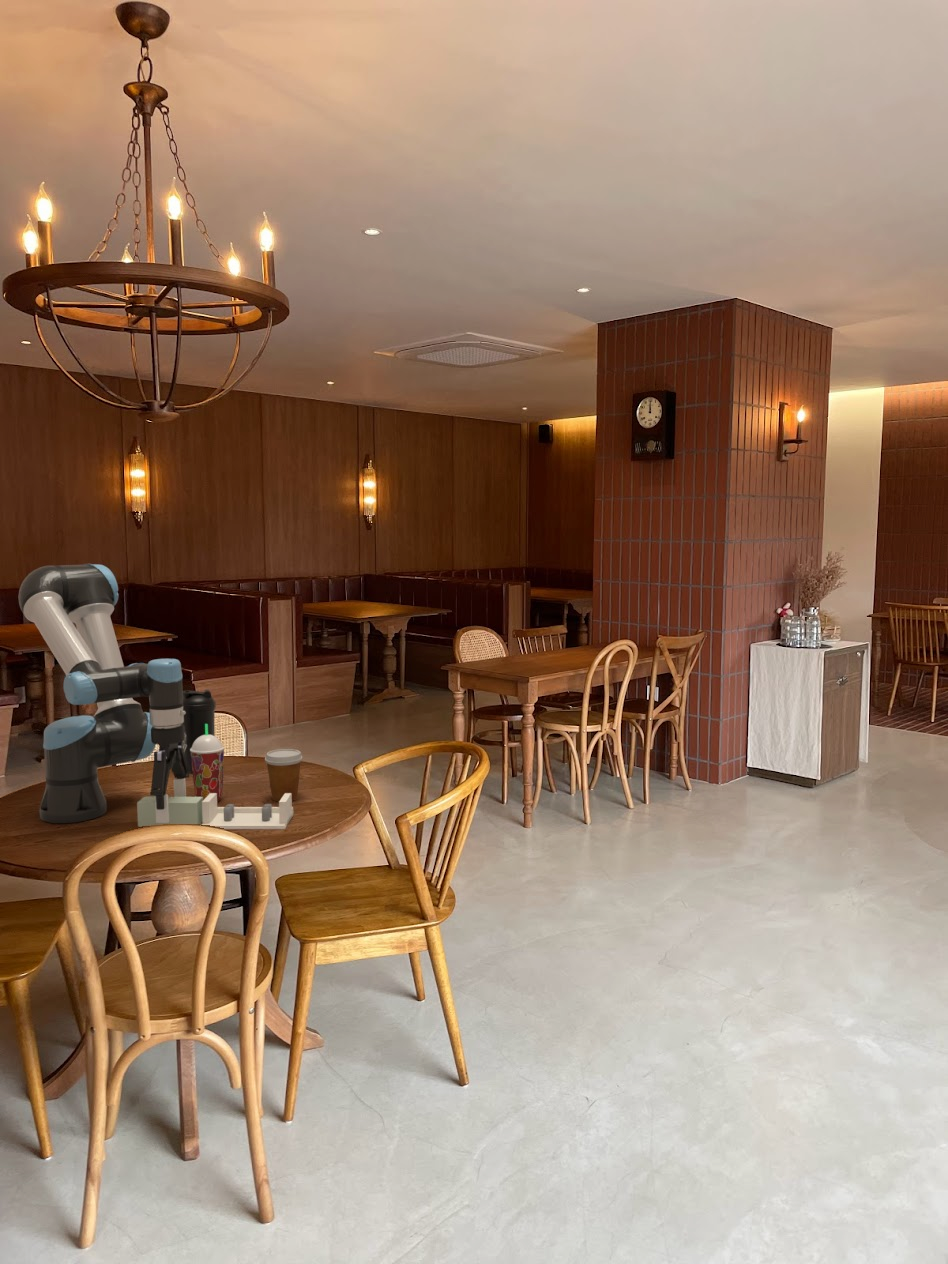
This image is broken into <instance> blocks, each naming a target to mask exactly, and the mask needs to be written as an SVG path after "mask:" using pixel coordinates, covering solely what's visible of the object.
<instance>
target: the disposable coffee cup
mask: <svg viewBox="0 0 948 1264" xmlns="http://www.w3.org/2000/svg"><path fill="white" fill-rule="evenodd" d="M302 759H303V755H302V753H301V751H300V750H298V749H292V748H284V749H283V748H281V749H274V750H269V751H268V752H266V755H265V757H264V761H265V763H266V766H267V773H268V779H269V786H270V791H271V798H272V801H275V802H276V803H277V802H278V803H279V801H280V800H281V798H282V797H283V795H284V794H285V793H291V794H292V801H295V800H297V799H298V792H299V782H300V772H301V763H302Z"/></svg>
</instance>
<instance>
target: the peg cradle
mask: <svg viewBox="0 0 948 1264" xmlns="http://www.w3.org/2000/svg"><path fill="white" fill-rule="evenodd" d="M292 803H293V802H292V794H291V793H285V794H284V795H283V797H282V798H281V800H280V801H279V802H278V806H272V803H265V804H263V806H235V804H234V803H228V804H225V806H218V802H217V793H210V794H209V795H208V796H207V797H206V798H205V799H204V800H203V801H202V816H203V822H202V823H201V825H210V826H215V827H220V828H224V829H223V830H285V829H286V828H287V826H288V825H289V823H290V822H291V820H292V818H293V817H294V806H292V805H293V804H292Z"/></svg>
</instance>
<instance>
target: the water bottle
mask: <svg viewBox="0 0 948 1264" xmlns="http://www.w3.org/2000/svg"><path fill="white" fill-rule="evenodd" d="M215 710H216V700H215V699H214V697H213V696H212V692H211V691H210V689H204V690H203V691H197V690H183V711H185V712H186V714H185V715H184V722H183V723H182V725H183V726H184V731H185V739H184V741H183V750H184V754H185V759H186V763H187V767H188V773H189V774H191V775H193V772H192V762H191V752H190V749H191V748H192V745H193V743H194V741H195V740H196V739H197V738H198V737H200V736H202V735H205V724H208V734H210V735H213V736H215Z"/></svg>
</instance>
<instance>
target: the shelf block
mask: <svg viewBox="0 0 948 1264" xmlns="http://www.w3.org/2000/svg"><path fill="white" fill-rule="evenodd" d="M202 801H203V797H195V796H186V797H174V796H168V812H169V822H168V823H156V811H155V796H151V795H150V796H143V797H142V798H141V799H139V800H138V801H137V802H136V809H137V810H136V811H137V813H136V814H137V827H138V828H139V827H140V828H143V827H142V826H151V825H163V824H200V825H202V823H203V816H202ZM201 822H202V823H201Z"/></svg>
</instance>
